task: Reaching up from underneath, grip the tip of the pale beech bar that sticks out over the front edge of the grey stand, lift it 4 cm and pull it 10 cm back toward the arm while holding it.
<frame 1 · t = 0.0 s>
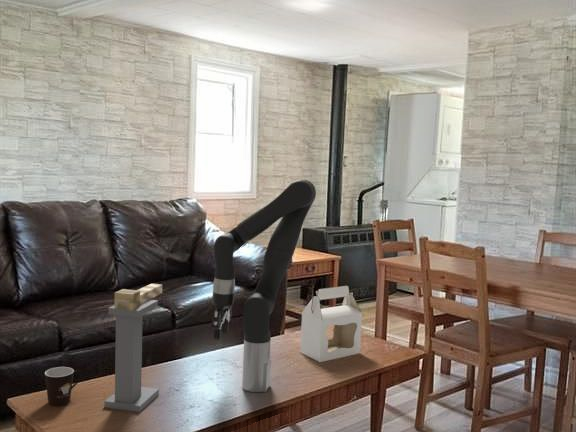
hand: (220, 335, 205), 17 cm above the table, tool pointing down, fingers open, 8 cm apart
coffee mug: (64, 402, 186), on the table
gable box: (330, 353, 244), on the table
grey stand: (132, 400, 189), on the table
beech bar: (141, 300, 191), point 32 cm above the table, touching grey stand
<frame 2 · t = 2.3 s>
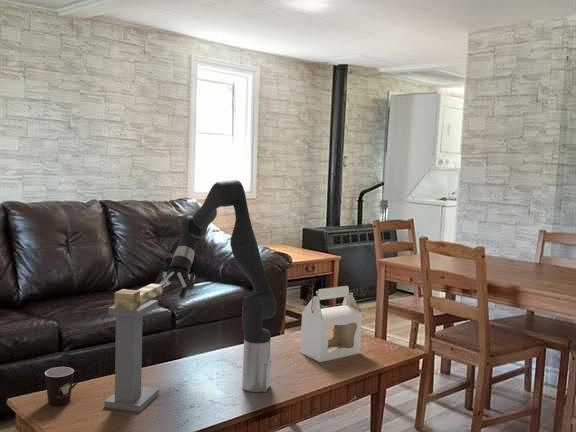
hand: (169, 296, 214), 28 cm above the table, tool tilted 45°, fingers open, 8 cm apart
nothing on the table moved.
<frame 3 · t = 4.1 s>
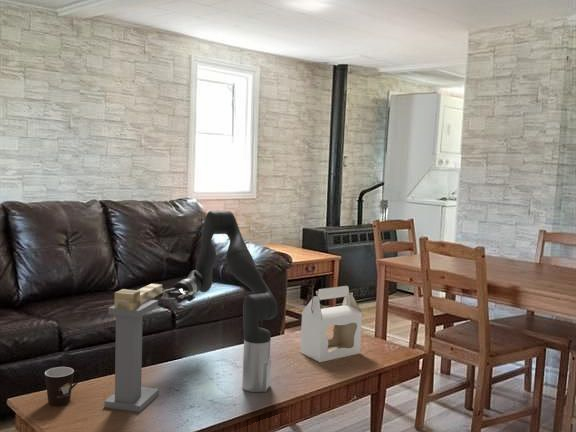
hand: (167, 299, 212), 28 cm above the table, tool horizontal, fingers open, 8 cm apart
nothing on the table moved.
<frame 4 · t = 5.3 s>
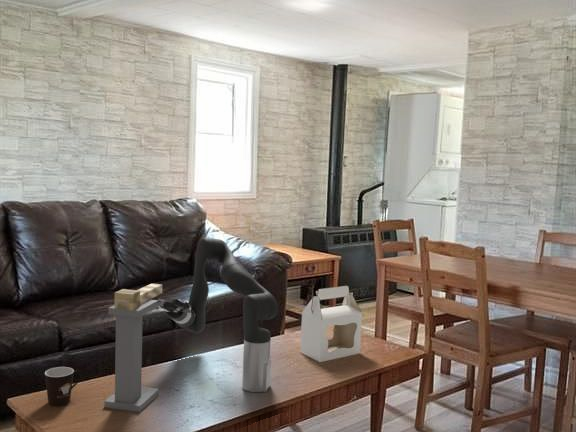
hand: (164, 300, 209), 28 cm above the table, tool pointing upward, fingers open, 8 cm apart
nothing on the table moved.
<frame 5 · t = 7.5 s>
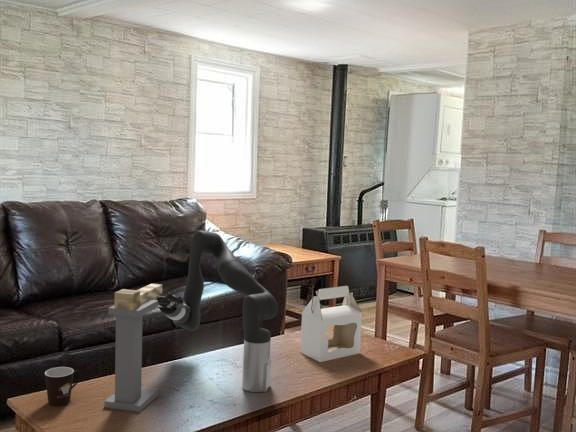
hand: (156, 294, 202), 31 cm above the table, tool pointing upward, fingers open, 8 cm apart
nothing on the table moved.
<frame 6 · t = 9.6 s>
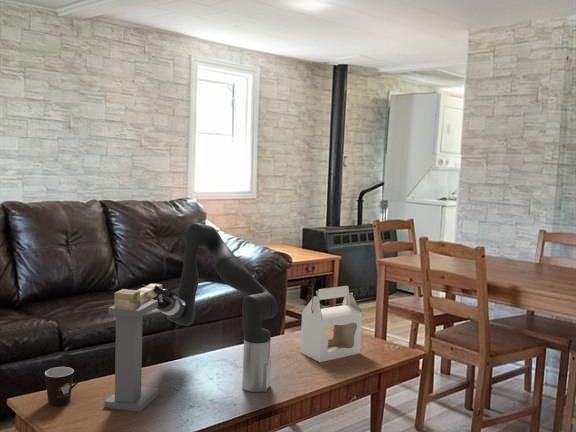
hand: (149, 287, 196), 35 cm above the table, tool pointing upward, fingers closed on beech bar, 4 cm apart
beech bar: (141, 300, 191), point 32 cm above the table, touching grey stand, gripper
everything else where it was.
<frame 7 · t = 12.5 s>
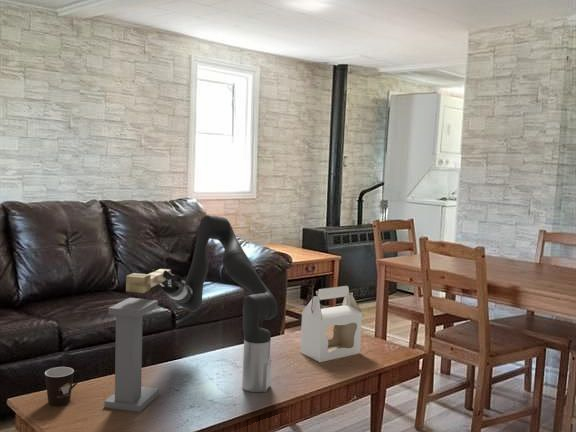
hand: (158, 272, 203), 39 cm above the table, tool pointing upward, fingers closed on beech bar, 4 cm apart
beech bar: (151, 284, 197), point 36 cm above the table, touching gripper
everything else where it was.
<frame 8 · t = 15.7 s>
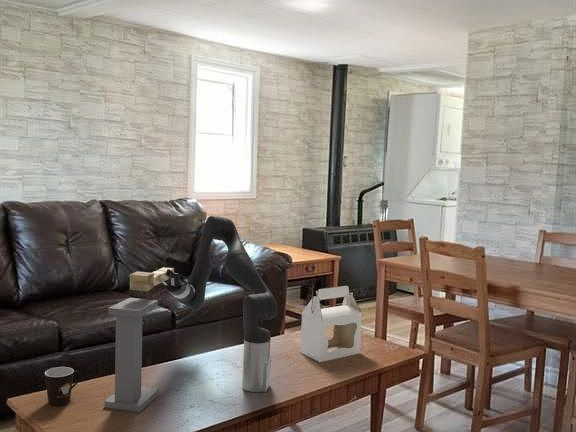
hand: (161, 271, 205), 39 cm above the table, tool pointing upward, fingers closed on beech bar, 4 cm apart
beech bar: (154, 282, 200), point 36 cm above the table, touching gripper
everything else where it was.
at the end: beech bar moved 10.6 cm from its start; the gripper is holding beech bar; beech bar point 35.8 cm above the table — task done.
